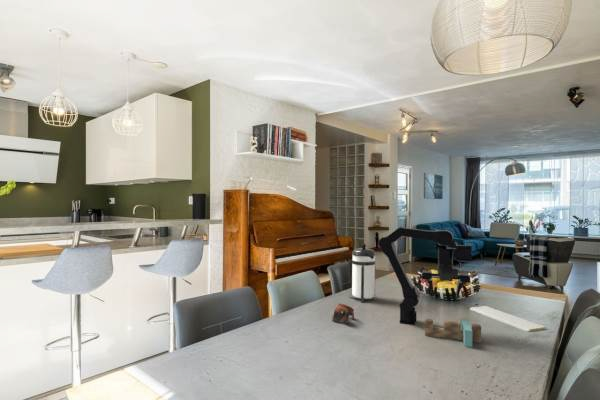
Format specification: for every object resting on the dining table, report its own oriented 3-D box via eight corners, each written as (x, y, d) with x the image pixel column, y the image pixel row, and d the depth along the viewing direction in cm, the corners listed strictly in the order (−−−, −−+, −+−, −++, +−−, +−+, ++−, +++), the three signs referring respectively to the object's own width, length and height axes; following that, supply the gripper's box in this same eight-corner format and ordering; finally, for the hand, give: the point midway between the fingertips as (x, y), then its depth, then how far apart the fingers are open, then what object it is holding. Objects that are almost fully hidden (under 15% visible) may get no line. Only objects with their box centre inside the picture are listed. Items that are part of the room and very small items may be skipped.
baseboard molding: (524, 333, 143) (545, 330, 147) (524, 326, 143) (545, 323, 147) (466, 310, 173) (485, 308, 177) (466, 305, 173) (485, 303, 177)
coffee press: (378, 296, 195) (379, 242, 195) (375, 304, 180) (376, 246, 180) (348, 293, 201) (348, 241, 201) (342, 300, 186) (343, 244, 186)
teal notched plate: (460, 332, 141) (460, 318, 141) (467, 333, 141) (467, 318, 141) (464, 346, 128) (464, 330, 128) (472, 347, 127) (472, 330, 127)
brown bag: (327, 319, 158) (334, 301, 160) (345, 327, 159) (351, 310, 161) (336, 320, 146) (343, 302, 149) (356, 330, 147) (362, 311, 150)
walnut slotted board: (425, 335, 138) (425, 320, 138) (424, 333, 140) (425, 318, 140) (481, 342, 132) (481, 326, 132) (480, 340, 134) (480, 324, 134)
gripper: (422, 261, 143) (421, 299, 142) (472, 264, 137) (472, 304, 137) (421, 257, 153) (421, 293, 153) (468, 260, 147) (468, 297, 147)
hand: (444, 296), depth 147 cm, fingers open, 9 cm apart
